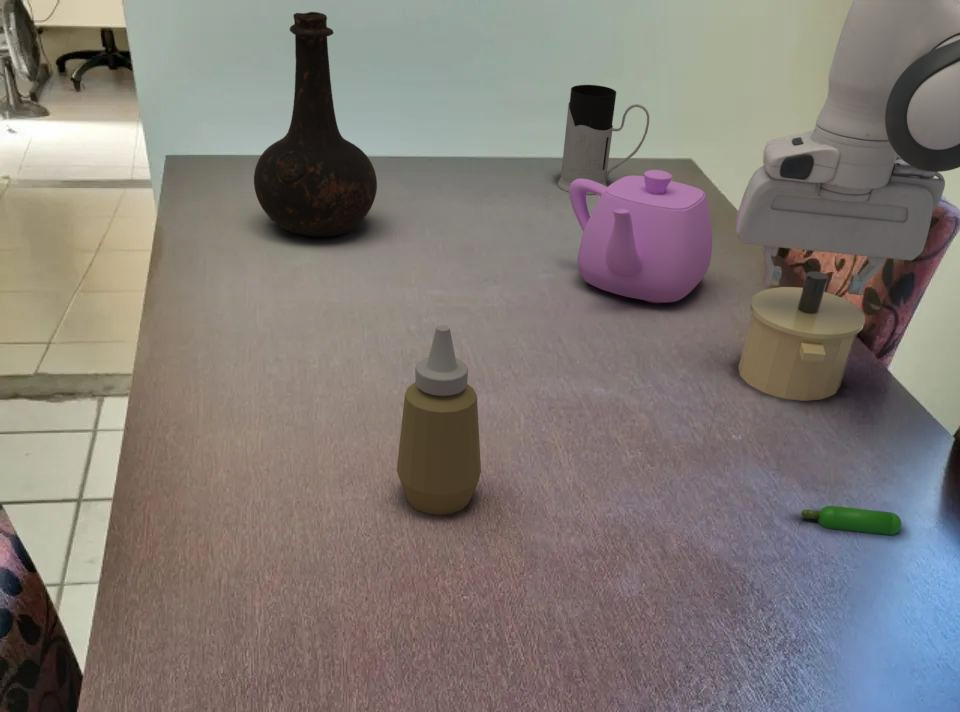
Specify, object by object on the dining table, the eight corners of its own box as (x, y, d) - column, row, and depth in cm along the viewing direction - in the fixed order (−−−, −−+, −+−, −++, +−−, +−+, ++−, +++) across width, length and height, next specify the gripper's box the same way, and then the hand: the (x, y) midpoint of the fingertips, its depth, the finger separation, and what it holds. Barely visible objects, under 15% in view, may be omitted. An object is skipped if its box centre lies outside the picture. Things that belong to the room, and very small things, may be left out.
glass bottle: (236, 234, 145) (211, 14, 126) (297, 200, 157) (283, -5, 138) (342, 258, 140) (333, 33, 121) (396, 220, 153) (396, 11, 134)
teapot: (584, 248, 148) (597, 140, 138) (716, 280, 141) (740, 170, 131) (516, 297, 133) (525, 181, 123) (660, 337, 126) (682, 217, 116)
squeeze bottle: (495, 503, 96) (509, 329, 84) (439, 537, 91) (445, 358, 79) (436, 471, 100) (440, 300, 88) (379, 502, 95) (375, 326, 83)
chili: (893, 528, 96) (902, 508, 95) (898, 543, 94) (907, 522, 93) (796, 518, 97) (802, 497, 95) (799, 532, 95) (805, 511, 93)
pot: (826, 354, 125) (846, 290, 119) (848, 422, 112) (872, 352, 106) (732, 345, 125) (748, 280, 120) (743, 411, 112) (761, 341, 107)
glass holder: (563, 175, 174) (572, 81, 164) (641, 186, 172) (656, 91, 161) (552, 190, 167) (562, 93, 157) (634, 202, 165) (649, 104, 155)
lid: (852, 302, 118) (865, 259, 114) (871, 349, 108) (887, 304, 105) (744, 291, 118) (754, 248, 115) (754, 337, 109) (765, 292, 105)
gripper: (944, 159, 103) (899, 287, 113) (751, 141, 104) (722, 268, 114) (958, 178, 99) (910, 309, 108) (756, 158, 100) (726, 290, 109)
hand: (812, 288), depth 111 cm, fingers open, 8 cm apart
